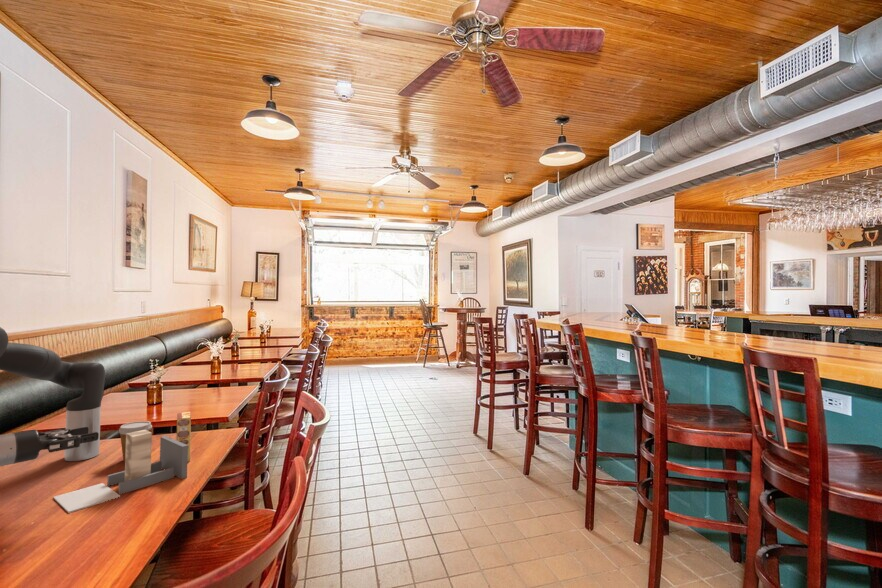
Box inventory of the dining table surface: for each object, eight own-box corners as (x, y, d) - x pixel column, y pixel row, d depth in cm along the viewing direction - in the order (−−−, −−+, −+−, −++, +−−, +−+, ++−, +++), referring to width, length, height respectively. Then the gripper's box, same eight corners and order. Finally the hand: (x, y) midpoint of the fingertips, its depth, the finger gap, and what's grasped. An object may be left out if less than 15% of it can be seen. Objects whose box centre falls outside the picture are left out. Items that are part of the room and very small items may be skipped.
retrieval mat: (53, 498, 113) (53, 496, 113) (102, 484, 122) (102, 482, 122) (68, 513, 105) (68, 511, 105) (120, 497, 114) (120, 495, 114)
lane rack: (103, 482, 123) (104, 449, 124) (164, 465, 137) (165, 435, 137) (123, 497, 114) (124, 461, 115) (186, 477, 128) (187, 445, 128)
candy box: (190, 461, 141) (191, 417, 141) (175, 463, 139) (177, 418, 139) (189, 453, 148) (190, 411, 149) (175, 455, 146) (177, 412, 146)
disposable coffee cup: (156, 457, 144) (157, 423, 144) (124, 466, 136) (125, 430, 136) (144, 452, 149) (145, 419, 149) (112, 460, 141) (113, 425, 141)
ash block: (124, 483, 123) (126, 433, 124) (143, 477, 127) (145, 429, 128) (130, 487, 120) (132, 436, 121) (150, 481, 124) (151, 432, 125)
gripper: (18, 438, 98) (102, 423, 111) (5, 428, 106) (85, 415, 119) (16, 470, 97) (101, 451, 111) (3, 457, 105) (84, 441, 119)
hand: (92, 433), depth 115 cm, fingers open, 8 cm apart
